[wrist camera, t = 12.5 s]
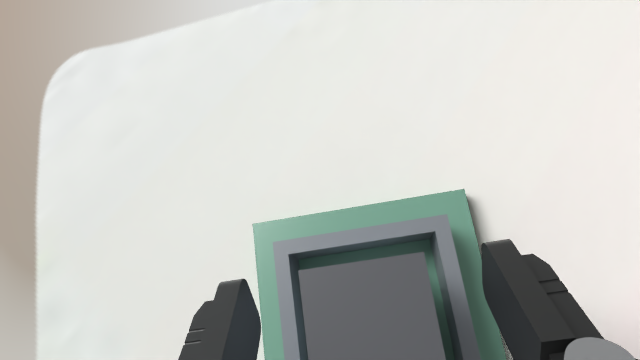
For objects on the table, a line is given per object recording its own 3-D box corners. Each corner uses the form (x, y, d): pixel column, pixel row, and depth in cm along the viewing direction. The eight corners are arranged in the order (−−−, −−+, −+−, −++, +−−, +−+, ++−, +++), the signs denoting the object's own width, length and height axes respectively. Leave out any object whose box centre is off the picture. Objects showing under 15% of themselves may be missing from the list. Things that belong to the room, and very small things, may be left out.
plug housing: (409, 270, 18) (423, 251, 12) (425, 358, 17) (452, 392, 11) (328, 282, 19) (298, 270, 12) (339, 369, 18) (314, 408, 11)
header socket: (461, 193, 20) (474, 175, 17) (519, 429, 17) (546, 455, 14) (257, 226, 21) (237, 214, 18) (278, 456, 18) (258, 485, 15)
